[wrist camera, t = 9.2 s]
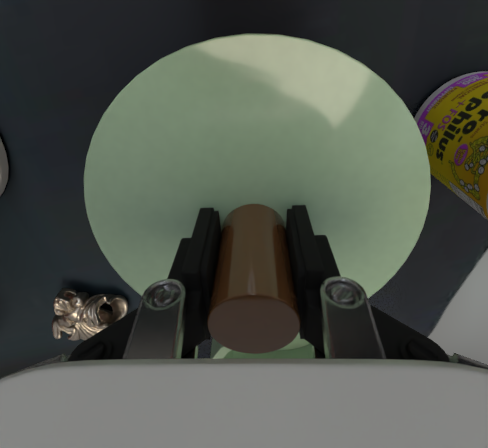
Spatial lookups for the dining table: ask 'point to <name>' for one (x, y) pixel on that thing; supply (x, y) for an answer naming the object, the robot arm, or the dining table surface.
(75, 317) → the ornament
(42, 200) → the dining table surface
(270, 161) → the pot lid
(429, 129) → the supplement bottle
